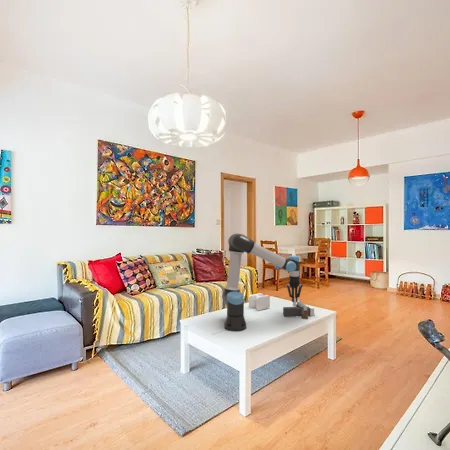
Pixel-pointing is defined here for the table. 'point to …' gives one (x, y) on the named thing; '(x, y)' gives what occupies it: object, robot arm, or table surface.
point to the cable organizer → (259, 301)
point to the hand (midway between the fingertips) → (294, 306)
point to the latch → (301, 305)
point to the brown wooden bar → (303, 313)
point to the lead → (296, 311)
